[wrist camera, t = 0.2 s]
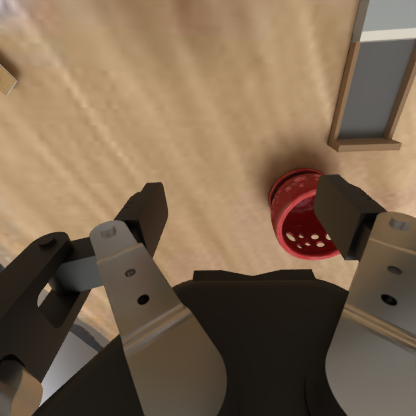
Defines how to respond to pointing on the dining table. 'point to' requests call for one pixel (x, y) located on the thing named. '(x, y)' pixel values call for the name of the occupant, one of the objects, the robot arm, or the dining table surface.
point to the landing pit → (373, 95)
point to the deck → (385, 21)
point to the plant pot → (299, 215)
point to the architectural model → (6, 81)
